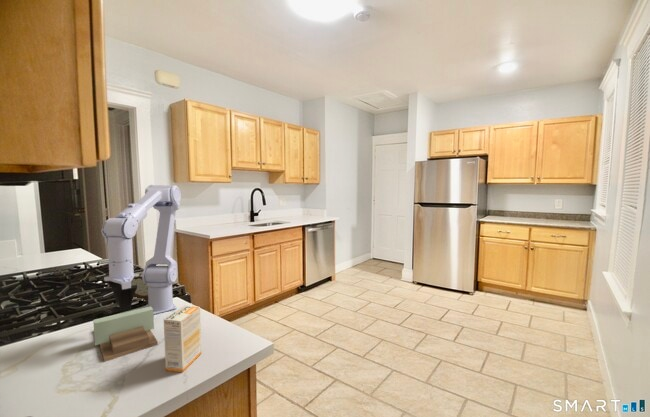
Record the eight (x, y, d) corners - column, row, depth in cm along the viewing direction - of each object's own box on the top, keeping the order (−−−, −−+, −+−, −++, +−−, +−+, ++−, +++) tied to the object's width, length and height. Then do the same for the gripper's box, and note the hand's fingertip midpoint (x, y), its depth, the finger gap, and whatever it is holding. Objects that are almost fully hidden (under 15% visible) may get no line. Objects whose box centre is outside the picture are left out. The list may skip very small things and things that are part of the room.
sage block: (151, 325, 92) (150, 306, 91) (154, 328, 90) (153, 309, 89) (94, 340, 82) (93, 319, 82) (95, 345, 80) (94, 323, 80)
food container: (169, 296, 117) (168, 271, 116) (159, 302, 111) (158, 276, 110) (140, 294, 118) (139, 270, 118) (128, 300, 112) (127, 274, 111)
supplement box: (185, 351, 80) (184, 304, 79) (202, 353, 79) (201, 306, 78) (164, 370, 72) (162, 318, 70) (182, 373, 71) (181, 320, 70)
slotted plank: (95, 331, 89) (95, 321, 89) (141, 319, 98) (141, 310, 97) (104, 361, 75) (103, 350, 74) (157, 344, 83) (157, 334, 83)
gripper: (100, 257, 87) (102, 302, 88) (107, 268, 76) (109, 319, 77) (128, 253, 91) (130, 296, 93) (139, 263, 81) (141, 311, 82)
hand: (123, 306), depth 85 cm, fingers open, 7 cm apart
